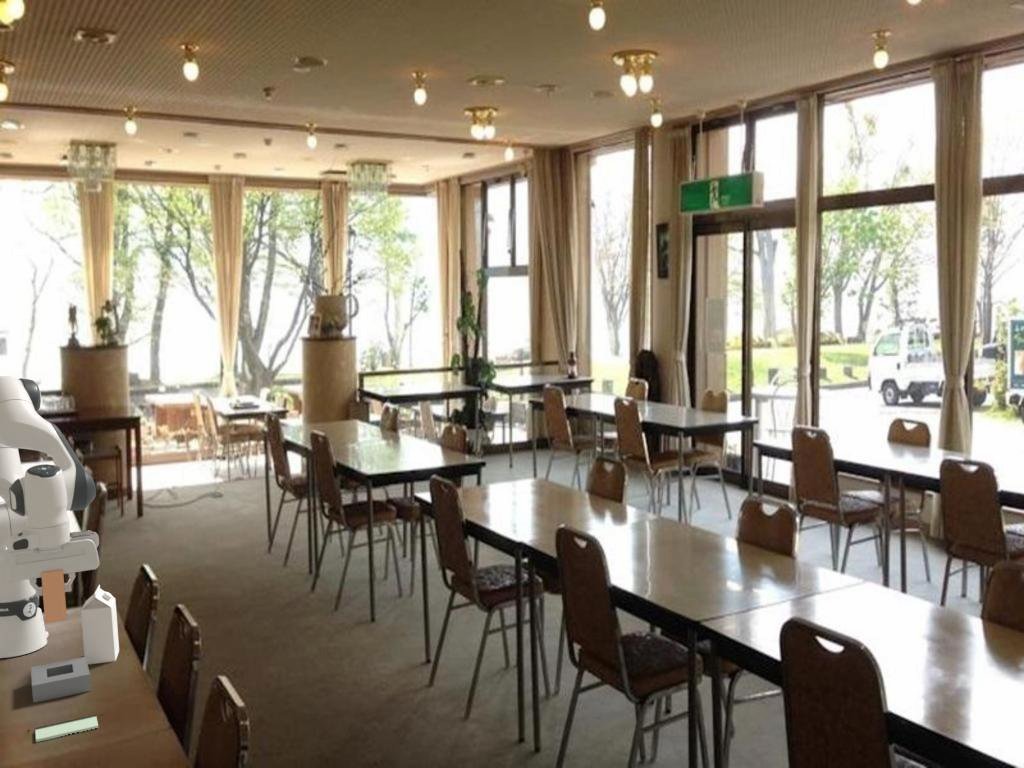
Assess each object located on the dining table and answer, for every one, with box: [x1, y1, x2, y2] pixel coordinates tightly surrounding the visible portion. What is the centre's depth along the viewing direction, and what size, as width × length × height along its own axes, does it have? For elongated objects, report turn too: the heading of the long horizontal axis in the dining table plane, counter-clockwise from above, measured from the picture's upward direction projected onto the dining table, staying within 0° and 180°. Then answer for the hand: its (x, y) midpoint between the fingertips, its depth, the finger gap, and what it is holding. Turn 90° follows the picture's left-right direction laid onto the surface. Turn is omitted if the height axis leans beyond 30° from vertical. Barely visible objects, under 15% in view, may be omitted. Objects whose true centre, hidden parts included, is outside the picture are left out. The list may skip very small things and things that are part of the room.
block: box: [41, 569, 68, 625], centre depth 215 cm, size 4×4×12 cm
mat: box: [34, 714, 99, 743], centre depth 203 cm, size 16×12×1 cm
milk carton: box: [80, 584, 120, 665], centre depth 234 cm, size 7×7×19 cm
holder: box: [30, 656, 92, 704], centre depth 218 cm, size 12×12×5 cm
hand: (53, 593), depth 215 cm, fingers closed on block, 4 cm apart
